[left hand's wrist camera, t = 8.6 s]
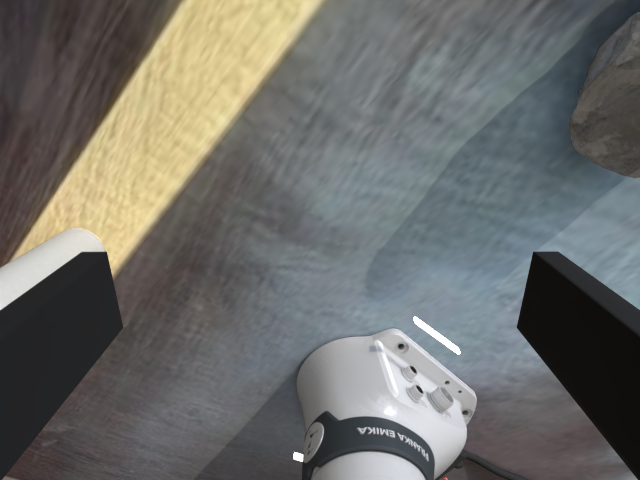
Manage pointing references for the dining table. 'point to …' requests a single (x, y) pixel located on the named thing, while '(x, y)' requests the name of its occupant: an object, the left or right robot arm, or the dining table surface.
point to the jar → (44, 262)
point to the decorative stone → (611, 104)
